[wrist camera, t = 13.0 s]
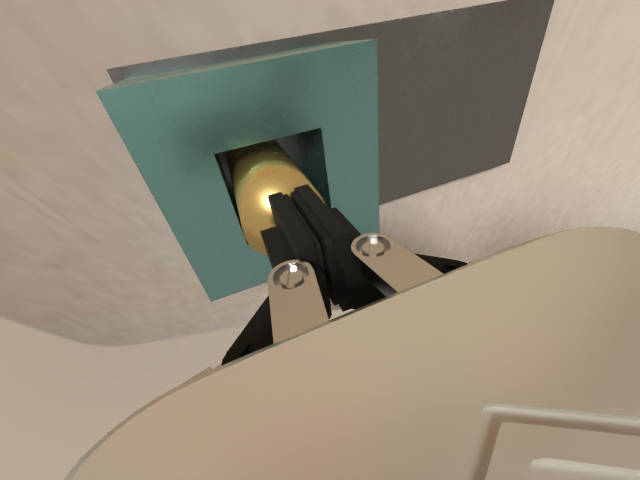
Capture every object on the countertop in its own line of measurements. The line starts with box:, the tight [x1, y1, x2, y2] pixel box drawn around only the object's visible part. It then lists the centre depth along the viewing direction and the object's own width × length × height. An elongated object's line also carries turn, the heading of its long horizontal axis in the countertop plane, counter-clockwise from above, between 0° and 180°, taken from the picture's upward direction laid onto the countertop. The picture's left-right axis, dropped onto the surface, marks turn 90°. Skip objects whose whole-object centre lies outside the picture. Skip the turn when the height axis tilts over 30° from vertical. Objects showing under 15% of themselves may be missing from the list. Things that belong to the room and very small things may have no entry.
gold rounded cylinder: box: [227, 139, 326, 256], centre depth 15 cm, size 4×4×8 cm
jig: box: [96, 0, 554, 302], centre depth 18 cm, size 28×12×6 cm, turn 98°
